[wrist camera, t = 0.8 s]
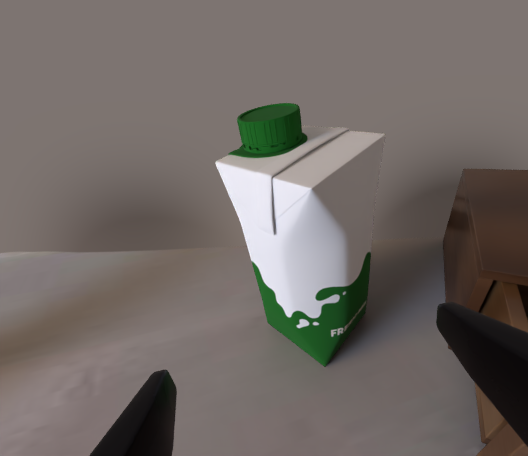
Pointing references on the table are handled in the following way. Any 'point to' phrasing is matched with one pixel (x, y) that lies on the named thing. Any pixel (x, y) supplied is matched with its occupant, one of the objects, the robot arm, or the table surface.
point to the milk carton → (306, 221)
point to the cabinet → (486, 235)
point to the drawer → (491, 421)
